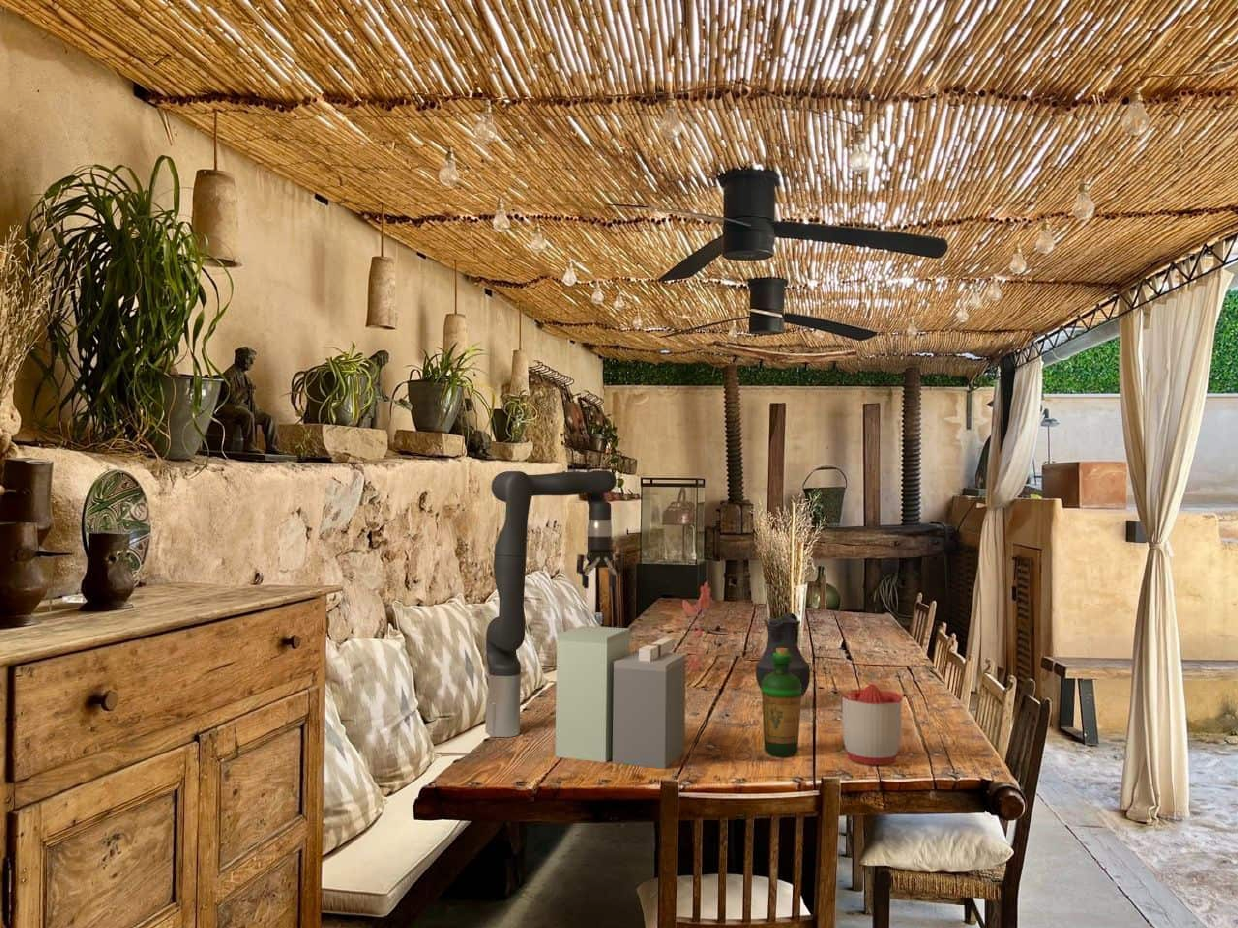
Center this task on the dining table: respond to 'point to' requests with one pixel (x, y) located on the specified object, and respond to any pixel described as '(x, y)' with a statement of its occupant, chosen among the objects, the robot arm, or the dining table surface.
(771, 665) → the pitcher
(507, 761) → the dining table surface
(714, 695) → the dining table surface
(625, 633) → the sage green tall pillar
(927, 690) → the dining table surface
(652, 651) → the pale wooden bar
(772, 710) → the bottle
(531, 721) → the dining table surface
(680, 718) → the block
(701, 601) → the pink translucent sprig
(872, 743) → the citrus juicer
